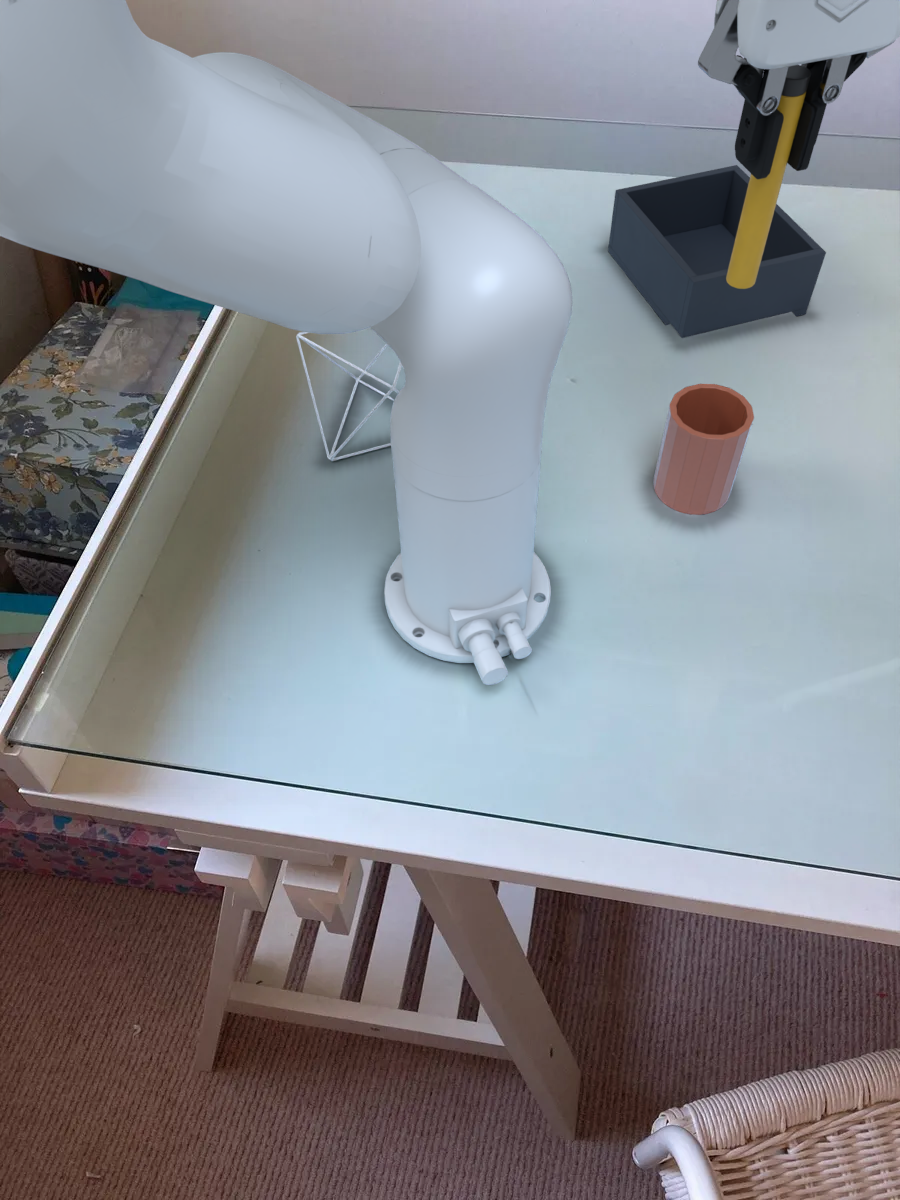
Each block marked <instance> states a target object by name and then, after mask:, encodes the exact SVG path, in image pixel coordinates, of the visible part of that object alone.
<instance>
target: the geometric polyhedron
mask: <svg viewBox="0 0 900 1200" xmlns="http://www.w3.org/2000/svg"><path fill="white" fill-rule="evenodd" d="M305 334H311V333H310V332H303V331H299V332H297V334H296V336H295V338H296V343H297V347H298V350H299V354H300V358H301V362H302V365H303V369H304V373H305V377H306V380H307V384H308V388H309V392H310V396H311V400H312V403H313V407H314V411H315V416H316V418H317V423H318V427H319V430H320V434H321V438H322V442H323V446H324V450H325V453H326V457H327V459H328V461H331V462H334V461H337V460H341V459H346V458H349V457H350V458H351V457H353V456H356V455H357V456H358V455H360V454H365V453H367V452H371V451H375V450H379V449H383V448H387V447H391V442H389V443H385V444H381V445H379V446H374V447H371V448H367V449H362V450H359V451H355V452H351V453H347V454H344V455H340V456H337V455H338V454H339V453H340V451H342V449H343V448H344V447H345V446H346V445H347V443H349V441H350V440H351V439H352V438H353V437H354V435H356V433H357V432H358V431H359V430H360V429H361V427H363V425H364V424H365V423H366V422H367V421H368V420H369V419H370V417H372V415H373V414H374V413H375V412H376V411H377V410H378V408H379V407H380V406H381V405H382V404H383V403H384V402H385V401H386V400H387V399H389V400H391V401H392V402H394V400H395V399H394V398H393V397H391V396H390V395H391V394H392V392H395V393H397V394H398V393H399V391H400V390H399V389H398V388H397V382H398V380H399V377H400V373H401V370H402V368H403V366H402V364H401V362H400V361H399V364H398V366H397V370H396V373H395V376H394V379H393V383H392V385H391V384H390V383H389V382H386V381H385V380H382V379H381V378H379V377H377V376H375V375H374V374H372V373H370V372H368V371H369V369H370V368H371V367H372V365H373V364H374V363H375V362H376V361H377V360H378V358H379V357H380V356H381V354H383V352H384V351H385V350H386V349H387V348H388V347H389V345H388V344H387V343H386V342H385V343H384V345H383V346H382V348H381V349H380V350H379V352H377V354H376V355H375V356H374V357H373V359H372V360H371V361H370V363H368V365H367V366H366V368H365V369H362V368H361V367H360V366H358V365H355V364H354V363H352V362H350V361H349V360H346V359H345V358H343V357H341V356H339V355H337V354H336V353H334V352H332V351H330V350H328V349H326V348H324V347H323V346H321V345H319V344H317V343H316V342H314V341H312V340H310V339H309V338H306V337H305V336H303V335H305ZM301 341H302V342H304V343H305V344H307V345H308V346H309V347H310V348H312V349H313V350H314V351H316V352H317V353H319V354H320V355H322V356H323V357H324V358H325V359H327V360H328V361H329V362H331V363H332V364H333V365H335V366H336V367H337V368H339V369H340V370H342V371H343V372H344V373H346V374H347V375H348V376H350V377H352V378H353V379H354V380H355V383H354V386H353V389H352V392H351V394H350V397H349V400H348V403H347V405H346V409H345V411H344V413H343V417H342V420H341V423H340V426H339V428H338V431H337V434H336V437H335V439H334V443H333V445H332V448H331V451H330V452H329V448H328V445H327V441H326V440H327V439H326V437H325V432H324V429H323V426H322V425H323V424H322V421H321V418H320V413H319V409H318V406H317V403H316V398H315V395H314V391H313V387H312V383H311V378H310V376H309V375H310V374H309V372H308V366H307V363H306V360H305V356H304V353H303V349H302V345H301ZM324 352H325V353H324ZM326 353H327V354H328V355H327V354H326ZM329 355H330V356H332V357H334V358H336V359H338V360H339V361H341V362H343V363H345V364H347V365H348V366H350V367H352V368H353V369H356V370H357V371H359V372H361V374H360V375H359V376H356V375H354V374H353V373H351V372H350V371H348V369H346V368H345V367H343V366H342V365H340V364H339V363H338V362H337V361H335V360H334V359H333V358H331V357H330V356H329ZM364 375H366V376H368V377H370V378H372V379H373V380H375V381H376V382H378V383H381V384H383V385H384V386H386V387H388V388H389V390H388V391H387V392H386V393H385V392H383V391H381V390H379V389H377V388H375V387H374V386H372V385H370V384H369V383H367V382H365V381H363V380H361V379H362V378H363V376H364ZM359 383H361V384H362V385H363V386H366V387H367V388H369V389H371V390H373V391H374V392H376V393H378V394H380V395H381V396H383V397H382V398H381V399H380V400H379V401H378V402H377V404H376V405H375V406H374V407H373V408H372V409H371V411H369V413H368V414H367V415H366V416H365V417H364V419H362V421H361V422H360V423H359V424H358V425H357V426H356V427H355V429H354V430H352V432H351V433H350V434H349V435H348V437H347V438H346V439H345V440H344V441H343V442H342V443H341V445H340V446H339V447H338V448H337V449H336V447H337V445H338V441H339V439H340V436H341V434H342V430H343V427H344V425H345V422H346V419H347V416H348V413H349V411H350V407H351V404H352V403H353V399H354V396H355V393H356V390H357V387H358V384H359Z"/></svg>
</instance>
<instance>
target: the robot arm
mask: <svg viewBox="0 0 900 1200" xmlns="http://www.w3.org/2000/svg"><path fill="white" fill-rule="evenodd" d="M713 26H714V27H713V30H711V31H712V32H711V33H710V35H709V37H708V39H707V41H706V43H705V45H704V47H703V49H702V51H701V53H700V54H699V57H698V60H697V66H698V68H699V69H700V70H701V71H703V73H705V74H706V75H707V77H709V78H710V79H712V80H716V81H718V82H722V83H725V84H728V85H733V86H734V87H735V89H736V90H737V92H738V94H739V95H740V96H741V97H742V98H743V99H744V101H743V105H742V110H741V115H740V120H739V123H738V128H737V132H736V137H735V142H734V153H735V154H734V155H735V156H734V157H735V159H736V160H737V161H738V162H739V164H741V166H743V167H744V169H746V170H747V172H749V173H750V175H751V174H752V175H753V176H754V177H755V178H756V179H763V178H766V177H767V176H768V175H769V174H770V171H771V167H772V163H773V159H774V156H775V152H776V148H777V144H778V140H779V136H780V132H781V128H782V124H783V120H784V116H783V114H782V113H781V112H780V111H779V110H778V109H777V108H778V105H779V103H780V99H781V95H782V91H783V87H784V83H785V79H786V75H787V71H788V67H789V66H794V65H801V66H804V67H806V68H808V69H809V70H810V72H811V76H810V80H809V83H808V87H807V90H806V94H805V98H804V102H803V106H802V109H801V113H800V117H799V121H798V124H797V128H796V132H795V136H794V139H793V143H792V147H791V151H790V154H789V158H788V162H787V165H789V167H791V168H792V169H793V170H795V171H796V172H800V171H801V172H802V171H805V170H807V169H808V168H809V166H810V162H811V158H812V154H813V151H814V148H815V145H816V143H817V140H818V136H819V133H820V129H821V127H822V124H823V123H822V122H823V120H824V116H825V112H826V109H827V105H829V104H832V103H833V102H835V101H836V100H838V99H839V96H840V95H841V93H842V89H843V86H844V83H845V82H846V81H847V80H848V79H849V78H850V77H851V76H852V75H853V74H854V73H855V72H856V70H858V69H859V68H860V67H861V66H862V64H863V63H864V62H865V60H866V59H869V58H871V57H873V56H875V55H876V54H878V53H880V52H881V51H883V50H885V49H886V48H888V47H890V46H891V45H892V44H894V43H895V42H896V41H897V39H899V38H900V0H716V2H715V10H714V20H713ZM738 51H739V54H737V52H738ZM0 237H1V238H5V239H7V240H9V241H12V242H14V243H16V244H19V245H21V246H25V247H27V248H31V249H33V250H37V251H40V252H43V253H46V254H50V255H53V256H55V257H60V258H64V259H67V260H71V261H74V262H77V263H81V264H84V265H88V266H91V267H95V268H98V269H102V270H105V271H108V272H112V273H115V274H117V275H121V276H124V277H128V278H131V279H134V280H137V281H141V282H143V283H146V284H149V285H151V286H153V287H156V288H159V289H162V290H165V291H167V292H171V293H174V294H178V295H181V296H184V297H186V298H190V299H193V300H197V301H200V302H203V303H207V304H210V305H212V306H213V305H214V306H216V307H220V308H223V309H226V310H230V311H233V312H237V313H240V314H243V315H246V316H249V317H252V318H256V319H259V320H262V321H265V322H268V323H271V324H275V325H277V326H280V327H284V328H285V329H290V330H292V331H293V330H294V331H299V332H310V333H309V334H317V335H345V334H351V333H356V332H359V331H363V330H366V329H369V328H370V329H371V330H372V331H373V332H374V333H375V334H376V335H377V336H378V337H380V339H381V340H383V341H384V342H385V344H386V343H387V344H388V347H389V348H390V349H391V350H392V351H393V353H394V355H396V357H397V359H398V360H399V363H400V362H401V364H402V369H403V372H404V384H403V386H402V388H401V389H400V390H399V393H397V394H396V396H395V398H394V399H393V400H394V401H393V402H392V406H391V411H390V418H389V434H390V443H391V446H390V448H391V457H392V465H393V466H392V467H393V478H394V487H395V488H394V489H395V497H396V499H395V500H396V510H397V521H398V522H397V523H398V531H399V532H398V533H399V543H400V544H399V545H400V553H398V555H397V556H396V558H395V559H394V560H393V562H392V563H391V565H390V566H389V569H388V570H387V574H386V577H385V582H384V590H383V594H384V605H385V608H386V612H387V616H388V617H387V618H388V619H389V621H390V623H391V625H392V626H393V628H394V630H395V631H396V632H397V633H398V635H399V636H400V637H401V639H402V640H404V641H405V642H406V643H407V644H408V645H410V646H411V647H412V648H414V649H415V650H417V651H419V652H421V653H423V654H424V655H426V656H429V657H431V658H435V659H437V660H440V661H443V662H449V663H456V664H474V666H475V668H476V671H477V673H478V675H479V676H478V677H479V678H480V680H481V683H482V684H484V685H485V686H493V685H497V684H499V683H501V682H502V681H504V680H505V679H506V678H507V677H508V675H509V671H508V669H507V667H506V664H505V662H504V660H503V657H506V656H509V655H510V654H511V653H512V655H513V657H514V659H515V660H523V659H525V658H527V657H528V656H530V655H531V654H532V651H533V649H532V646H531V645H530V643H529V639H530V638H531V637H532V636H533V635H534V634H535V633H536V632H537V631H538V629H540V627H541V625H542V624H543V622H544V621H545V618H546V616H547V615H548V612H549V608H550V604H551V595H552V587H551V580H550V576H549V573H548V571H547V568H546V566H545V564H544V563H543V561H542V560H541V557H539V555H538V554H537V553H536V552H535V541H536V540H535V538H536V527H537V526H536V525H537V517H538V515H537V514H538V502H539V490H540V479H541V477H540V476H541V464H542V453H543V452H542V447H543V436H544V435H543V434H544V426H545V415H546V410H547V409H546V408H547V403H548V396H549V392H550V387H551V383H552V379H553V375H554V372H555V368H556V366H557V364H558V363H557V362H558V360H559V357H560V354H561V351H562V348H563V346H564V343H565V340H566V337H567V334H568V330H569V326H570V323H571V317H572V313H573V291H572V290H573V289H572V286H571V281H570V278H569V275H568V273H567V269H566V268H565V266H564V263H563V262H562V260H561V259H560V257H559V256H558V254H557V253H556V251H555V250H554V249H553V248H552V246H551V245H550V244H549V243H548V242H547V240H546V239H545V238H544V237H543V236H542V235H541V234H540V233H539V232H538V231H536V229H535V228H534V227H532V226H531V225H530V224H529V223H527V222H526V220H524V219H523V218H522V217H520V216H519V215H517V214H516V213H515V212H513V211H512V210H510V209H509V208H507V207H506V206H505V205H503V204H502V203H501V202H499V201H498V200H497V199H496V198H494V197H492V196H491V195H490V194H489V193H487V192H486V191H484V190H483V189H481V188H480V187H479V186H478V185H475V184H474V183H471V182H469V181H468V180H467V179H466V178H464V177H463V176H461V175H460V174H459V173H458V172H456V171H455V170H453V169H452V168H450V167H449V166H448V165H446V164H445V163H443V161H441V160H439V159H438V158H437V157H435V156H434V155H432V154H431V153H429V152H428V151H427V150H425V149H424V148H422V147H421V146H419V145H418V144H416V143H415V142H413V141H412V140H410V139H408V138H406V137H405V136H403V135H401V134H399V133H397V132H396V131H394V130H392V129H390V128H389V127H387V126H386V125H383V124H381V123H380V122H378V121H376V120H374V119H372V118H370V117H369V116H367V115H365V114H363V113H362V112H360V111H358V110H356V109H354V108H352V107H350V106H349V105H347V104H345V103H343V102H341V101H339V100H338V99H336V98H334V97H332V96H330V95H329V94H327V93H325V92H323V91H322V90H320V89H318V88H316V87H315V86H313V85H311V84H309V83H308V82H305V81H304V80H301V79H300V78H298V77H296V76H294V75H293V74H291V73H289V72H288V71H286V70H283V69H282V68H280V67H278V66H277V65H275V64H272V63H271V62H268V61H266V60H263V59H261V58H258V57H255V56H252V55H249V54H245V53H240V52H232V51H231V52H229V51H228V52H227V51H219V52H210V53H204V54H200V55H197V56H194V57H192V56H190V55H188V54H186V53H184V52H182V51H180V50H178V49H175V48H173V47H171V46H169V45H166V44H164V43H162V42H161V41H157V40H155V39H152V38H150V37H149V36H147V35H146V33H145V34H144V32H143V31H142V30H141V28H140V27H139V25H137V23H136V21H135V19H134V18H133V15H132V12H131V10H130V8H129V6H128V3H127V0H0ZM538 597H541V598H542V599H544V600H543V601H537V600H535V599H536V598H538ZM510 651H511V652H510Z"/></svg>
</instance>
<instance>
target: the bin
mask: <svg viewBox="0 0 900 1200" xmlns="http://www.w3.org/2000/svg"><path fill="white" fill-rule="evenodd" d="M749 180H750V175H748V174H747V173H746V172H745V171H744V170H743V169H742V168H741V167H740V166H738V164H735V165H731V166H725V167H720V168H715V169H711V170H706V171H701V172H695V173H691V174H686V175H680V176H677V177H672V178H666V179H662V180H657V181H653V182H647V183H642V184H637V185H634V186H628V187H624V188H619V189H615V191H614V200H613V207H612V216H611V223H610V224H611V225H610V232H609V238H608V239H609V240H608V245H607V252H608V253H609V254H610V256H611V257H612V258H613V259H614V261H615V262H616V263H617V264H618V266H619V267H620V269H621V270H622V271H623V272H624V273H625V275H626V276H627V278H628V279H629V280H630V282H631V283H632V284H633V285H634V286H635V288H636V289H637V290H638V291H639V293H640V295H642V297H643V298H644V299H645V301H646V302H647V303H648V304H649V306H650V307H651V308H652V310H653V311H654V312H655V314H656V315H657V316H658V317H659V319H660V320H661V321H662V323H663V324H664V325H665V326H669V325H671V326H672V328H673V329H674V331H676V332H677V334H678V336H679V337H680V338H681V339H684V338H690V337H693V336H697V335H700V334H701V335H702V334H705V333H709V332H713V331H717V330H723V329H726V328H731V327H734V326H739V325H742V324H746V323H747V324H748V323H751V322H755V321H759V320H764V319H768V318H771V317H776V316H781V315H784V314H789V313H792V314H793V315H794V316H795V317H799V316H804V315H806V314H807V312H808V308H809V306H810V302H811V299H812V296H813V293H814V292H815V291H814V290H815V287H816V285H817V282H818V278H819V276H820V272H821V269H822V266H823V263H824V260H825V257H826V254H827V251H826V250H825V249H824V248H822V247H821V245H820V244H818V243H817V242H816V241H815V240H814V239H813V238H812V237H811V236H810V235H809V234H808V233H807V232H806V231H805V230H804V229H803V228H802V227H801V226H800V225H799V224H798V223H797V222H796V221H795V220H794V219H793V218H792V217H791V216H790V215H789V214H788V213H787V212H786V211H785V210H784V209H783V208H782V207H781V206H780V205H779V204H777V203H776V207H775V210H774V214H773V218H772V221H771V225H770V229H769V233H768V236H767V240H766V244H765V248H764V251H763V255H762V259H761V263H760V266H759V270H758V274H757V278H756V281H755V284H754V285H753V286H752V287H750V288H746V289H739V288H735V287H732V286H731V285H729V284H728V283H727V281H726V276H727V272H728V268H729V264H730V259H731V255H732V251H733V247H734V243H735V238H736V234H737V230H738V226H739V222H740V218H741V213H742V209H743V205H744V201H745V197H746V192H747V188H748V184H749Z"/></svg>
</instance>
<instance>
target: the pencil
mask: <svg viewBox="0 0 900 1200" xmlns="http://www.w3.org/2000/svg"><path fill="white" fill-rule="evenodd" d="M810 76H811V72H810V70H809V69H808V68H806V67H804V66H801V64H800V65H794V66H789V67H788V71H787V75H786V79H785V83H784V87H783V91H782V95H781V99H780V103H779V105H778V108H777V109H778V110H779V111H780V112H781V113H782V114H783V116H784V120H783V124H782V128H781V132H780V136H779V140H778V144H777V148H776V152H775V156H774V159H773V163H772V167H771V171H770V174H769V175H768V176H767V177H766V178H763V179H756V178H755V177H754V176H753V175H752V174H751V173H750V175H749V177H750V180H749V184H748V188H747V192H746V197H745V201H744V205H743V209H742V213H741V218H740V222H739V226H738V230H737V234H736V238H735V243H734V247H733V251H732V255H731V259H730V264H729V268H728V272H727V276H726V281H727V283H728V284H729V285H731V286H732V287H735V288H739V289H746V288H750V287H752V286H753V285H754V284H755V281H756V278H757V274H758V270H759V266H760V263H761V259H762V255H763V251H764V248H765V244H766V240H767V236H768V233H769V229H770V225H771V221H772V218H773V214H774V210H775V207H776V204H777V203H778V199H779V195H780V191H781V189H782V188H781V187H782V184H783V179H784V176H785V173H786V168H787V166H788V163H787V162H788V158H789V154H790V151H791V147H792V143H793V139H794V136H795V132H796V128H797V124H798V121H799V117H800V113H801V109H802V106H803V102H804V98H805V94H806V90H807V87H808V83H809V80H810Z"/></svg>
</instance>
